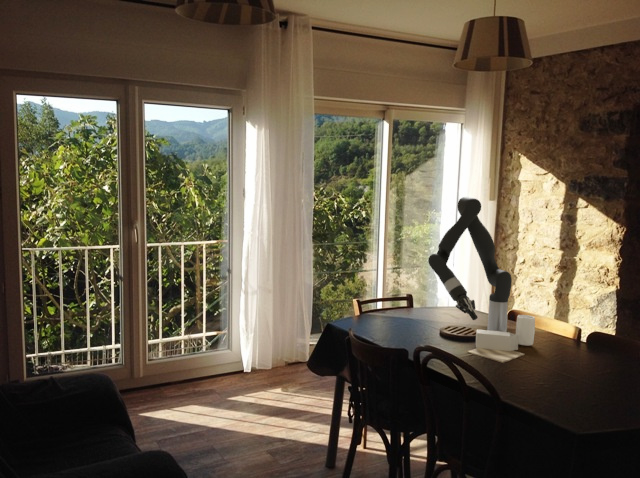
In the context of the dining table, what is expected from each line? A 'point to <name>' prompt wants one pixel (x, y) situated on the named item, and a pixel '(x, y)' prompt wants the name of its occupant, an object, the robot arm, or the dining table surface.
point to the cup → (525, 329)
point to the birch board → (496, 354)
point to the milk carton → (496, 340)
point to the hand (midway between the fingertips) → (475, 319)
